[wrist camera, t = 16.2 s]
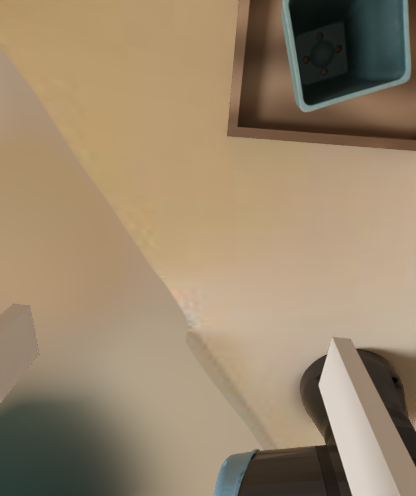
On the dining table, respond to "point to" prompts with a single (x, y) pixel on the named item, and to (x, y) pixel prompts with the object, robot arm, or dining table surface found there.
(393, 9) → the flower pot
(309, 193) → the dining table surface
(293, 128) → the holder tray
